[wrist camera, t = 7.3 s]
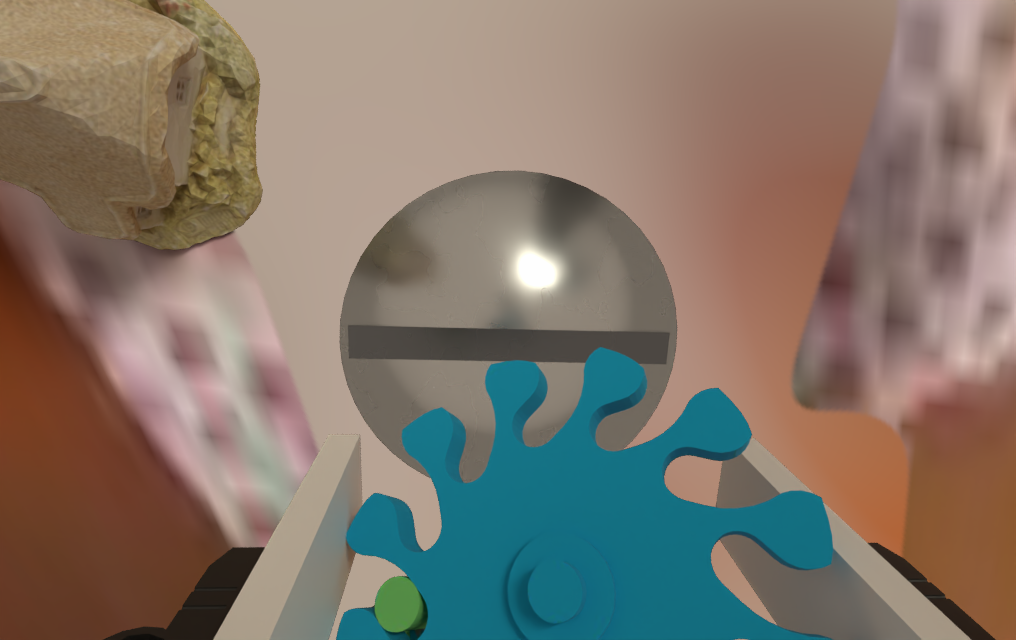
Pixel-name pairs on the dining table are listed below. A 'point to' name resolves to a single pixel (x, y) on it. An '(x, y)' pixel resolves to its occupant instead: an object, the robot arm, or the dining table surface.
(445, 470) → the gear
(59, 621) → the dining table surface
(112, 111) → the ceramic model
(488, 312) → the hub plate
